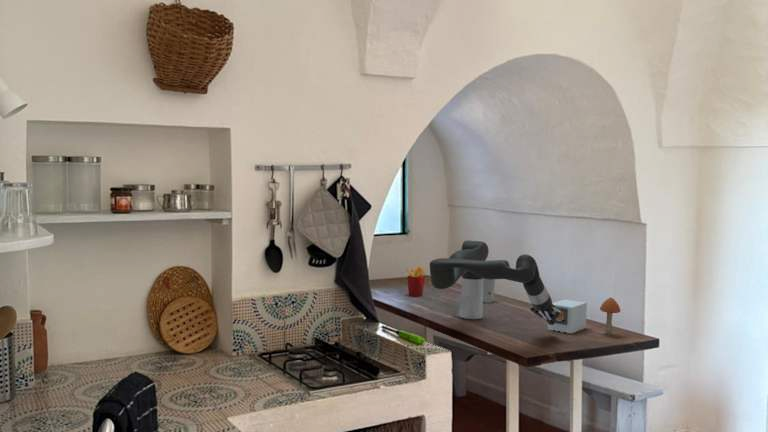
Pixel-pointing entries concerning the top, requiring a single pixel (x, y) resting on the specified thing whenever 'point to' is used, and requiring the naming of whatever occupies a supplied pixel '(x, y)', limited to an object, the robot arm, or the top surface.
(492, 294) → the skincare box
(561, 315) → the peg
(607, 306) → the mushroom
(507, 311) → the top surface
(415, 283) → the french fries
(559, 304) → the block
